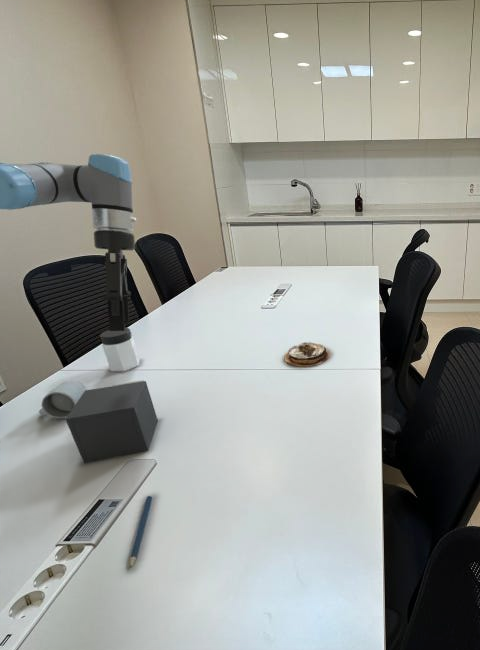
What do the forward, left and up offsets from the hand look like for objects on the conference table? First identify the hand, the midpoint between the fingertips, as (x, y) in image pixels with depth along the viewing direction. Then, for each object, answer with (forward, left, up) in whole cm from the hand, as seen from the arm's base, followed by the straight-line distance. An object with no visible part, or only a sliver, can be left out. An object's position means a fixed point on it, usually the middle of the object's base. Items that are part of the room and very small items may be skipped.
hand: (120, 326), depth 89 cm
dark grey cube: (0, -9, -26) cm, 27 cm away
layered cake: (+31, +38, -26) cm, 55 cm away
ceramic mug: (-25, +1, -26) cm, 36 cm away
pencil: (+21, -31, -26) cm, 45 cm away
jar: (-27, +26, -26) cm, 46 cm away
